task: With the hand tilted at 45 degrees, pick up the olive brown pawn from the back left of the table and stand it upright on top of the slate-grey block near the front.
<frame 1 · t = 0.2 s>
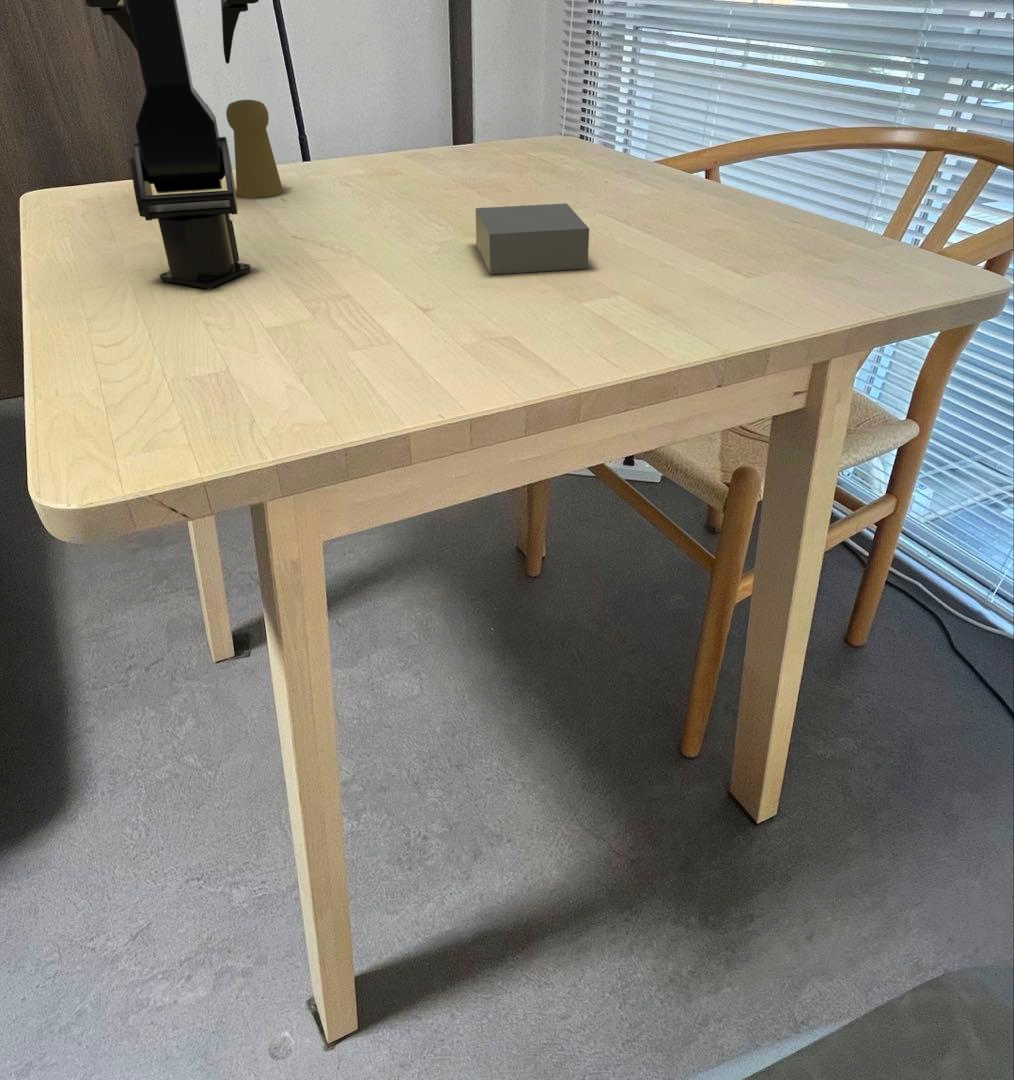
hand: (188, 63, 105), 15 cm above the table, tool tilted 15°, fingers open, 9 cm apart
olive brown pawn: (260, 193, 115), on the table
grey block: (530, 257, 91), on the table
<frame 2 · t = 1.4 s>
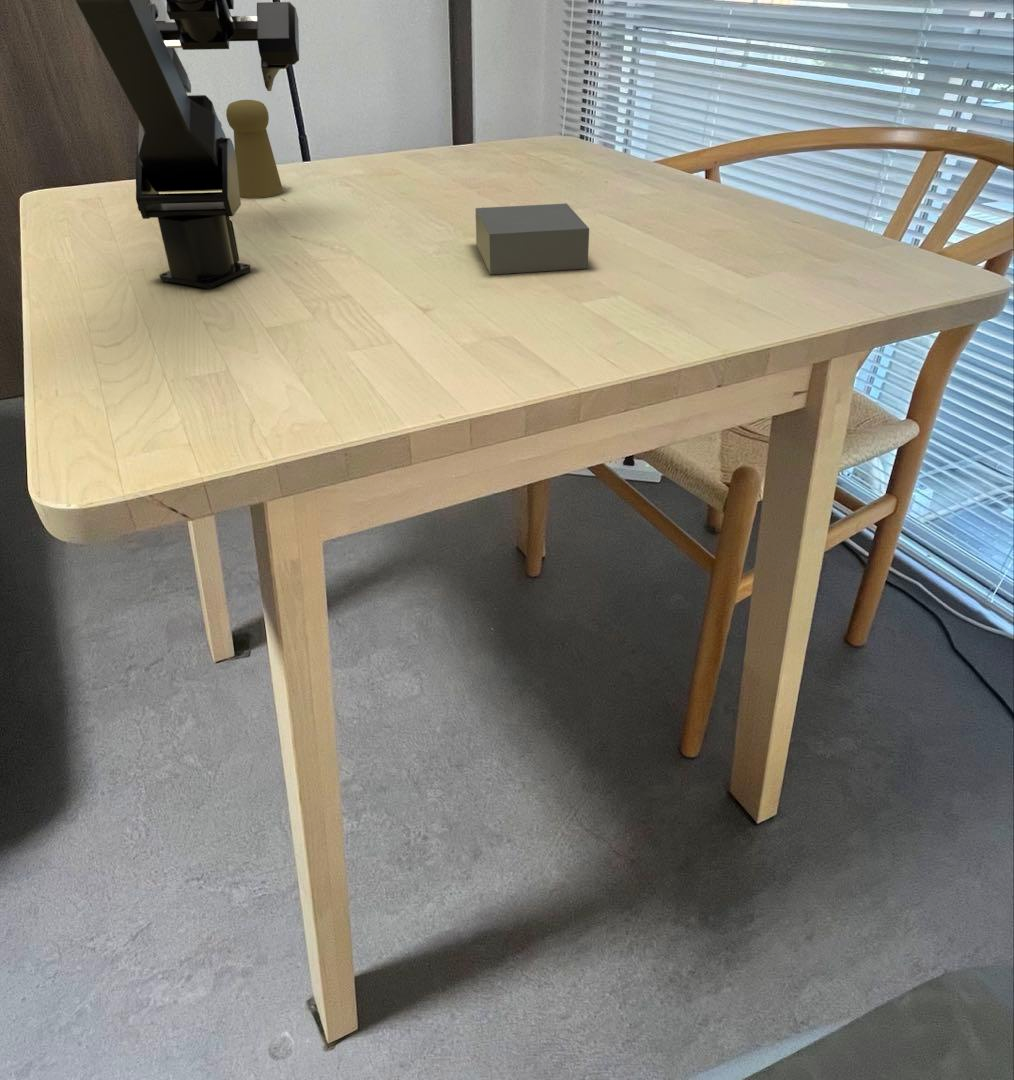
hand: (229, 88, 101), 13 cm above the table, tool tilted 45°, fingers open, 9 cm apart
nothing on the table moved.
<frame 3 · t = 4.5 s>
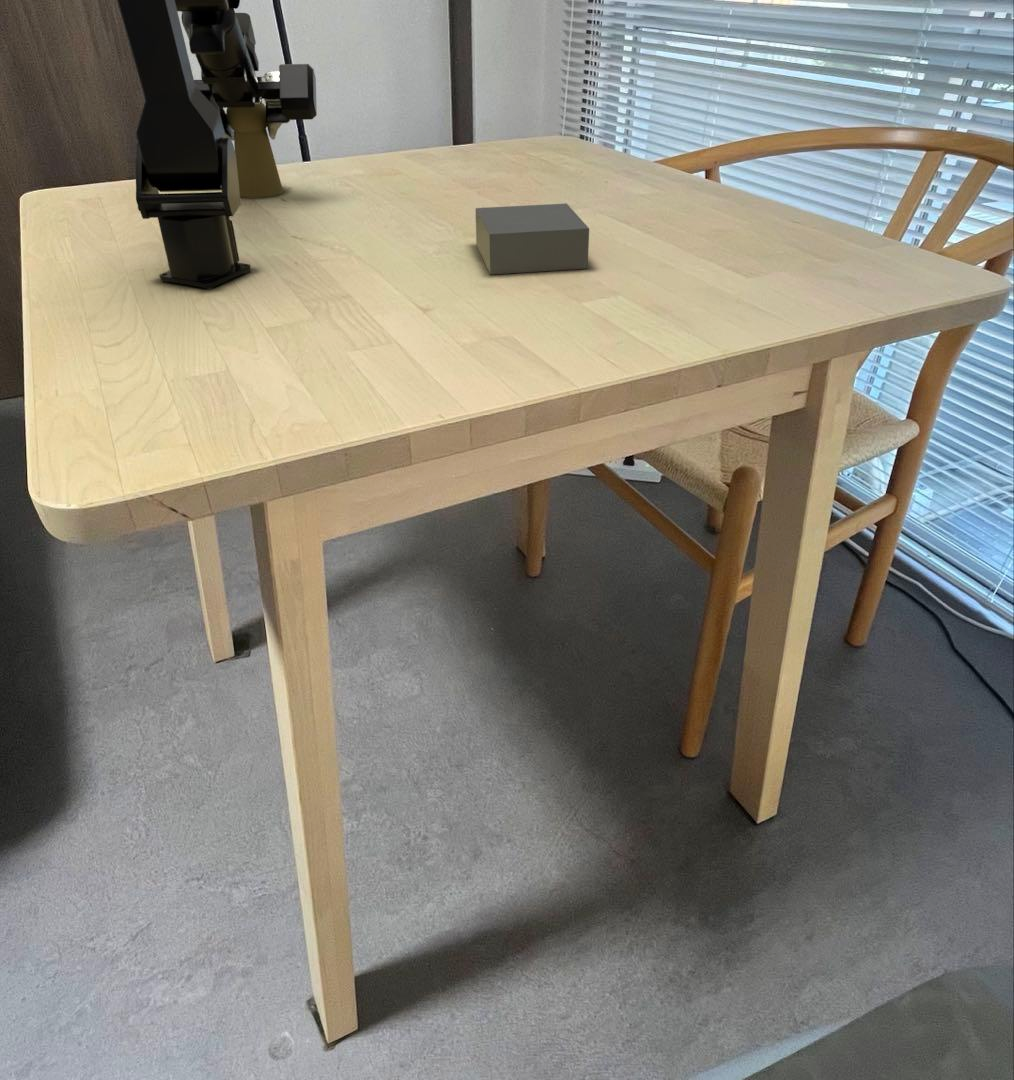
hand: (253, 136, 113), 7 cm above the table, tool tilted 45°, fingers closed on olive brown pawn, 5 cm apart
olive brown pawn: (260, 193, 115), on the table, touching gripper
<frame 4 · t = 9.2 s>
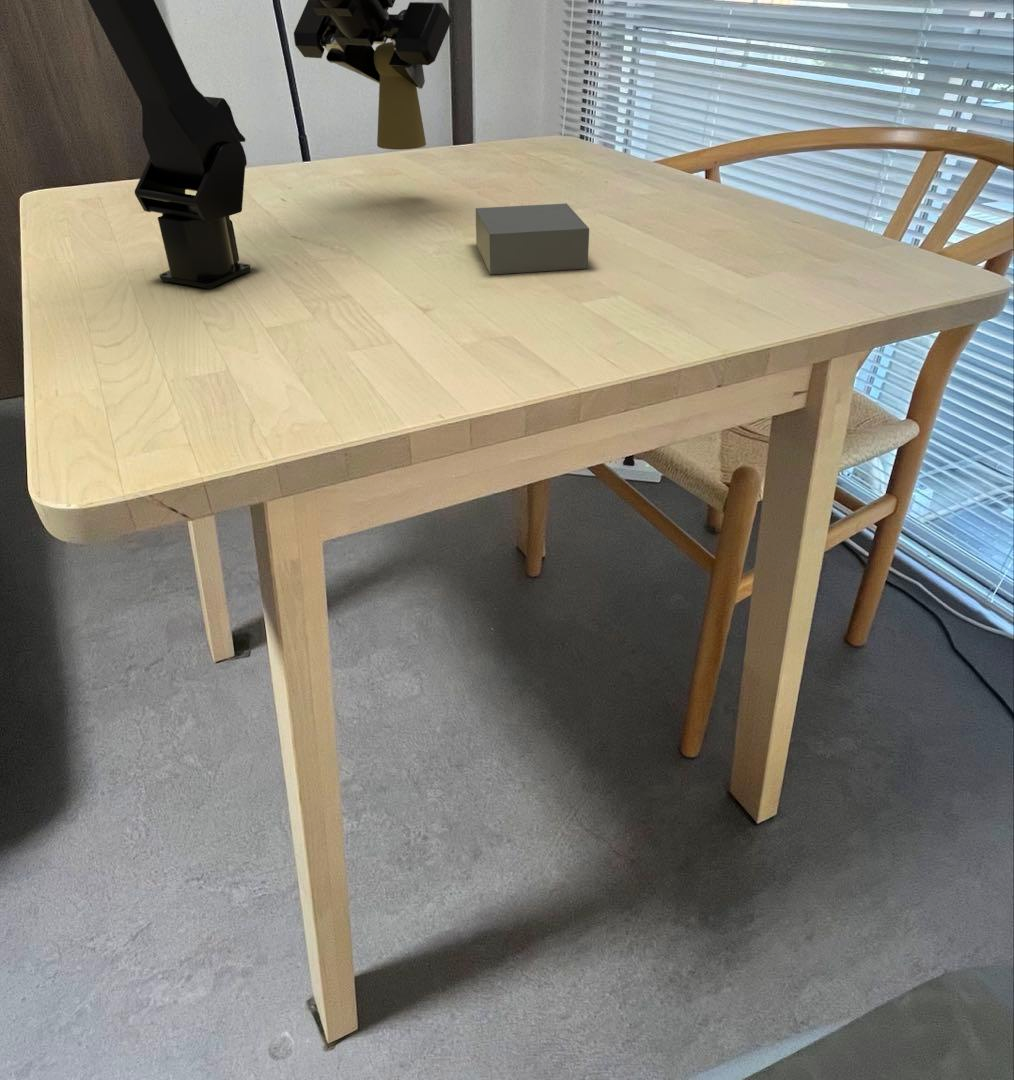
hand: (404, 83, 104), 13 cm above the table, tool tilted 45°, fingers closed on olive brown pawn, 5 cm apart
olive brown pawn: (401, 146, 107), point 6 cm above the table, touching gripper
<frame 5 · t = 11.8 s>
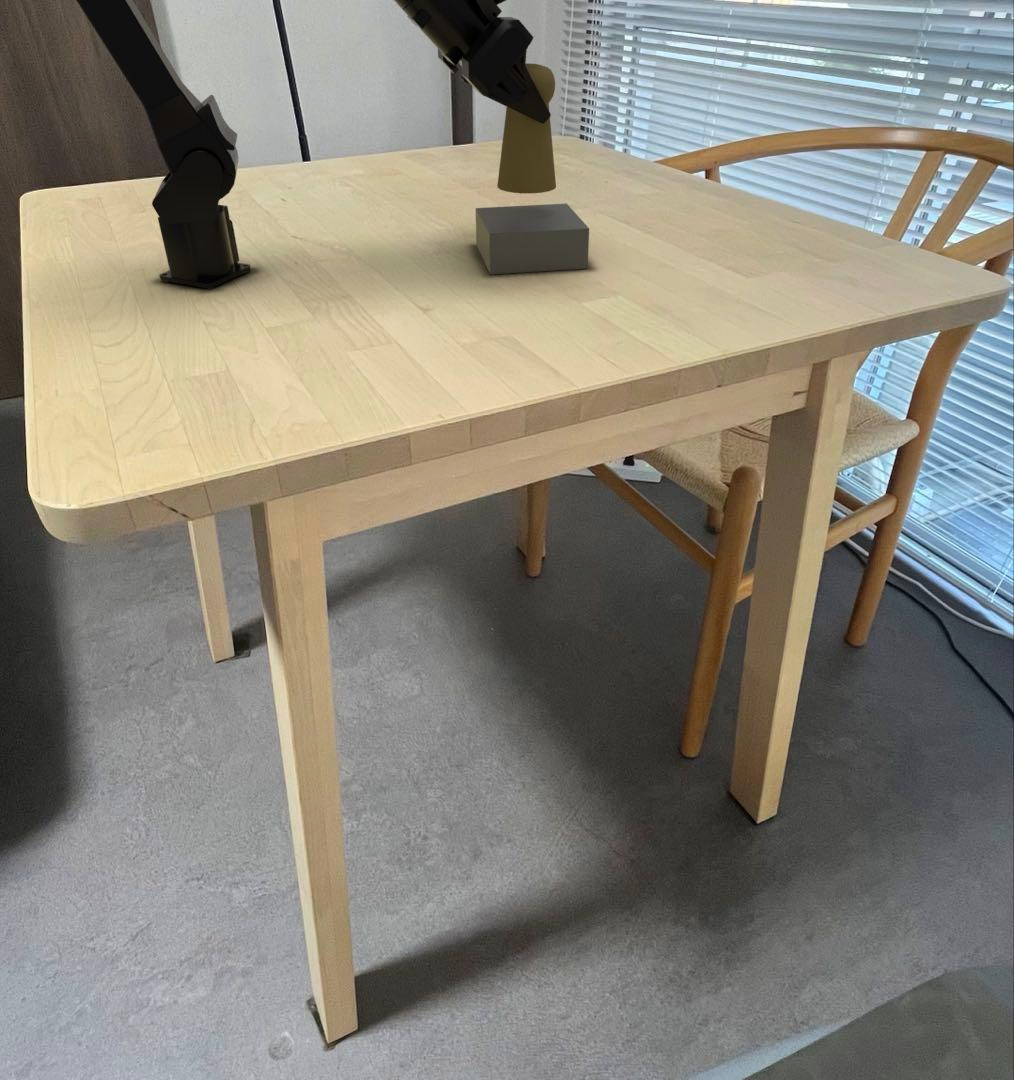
hand: (540, 115, 85), 13 cm above the table, tool tilted 45°, fingers closed on olive brown pawn, 5 cm apart
olive brown pawn: (526, 188, 89), point 6 cm above the table, touching gripper
when the fingers open (11 cm above the table, at t = 13.8 s): olive brown pawn stays where it is, resting on grey block.
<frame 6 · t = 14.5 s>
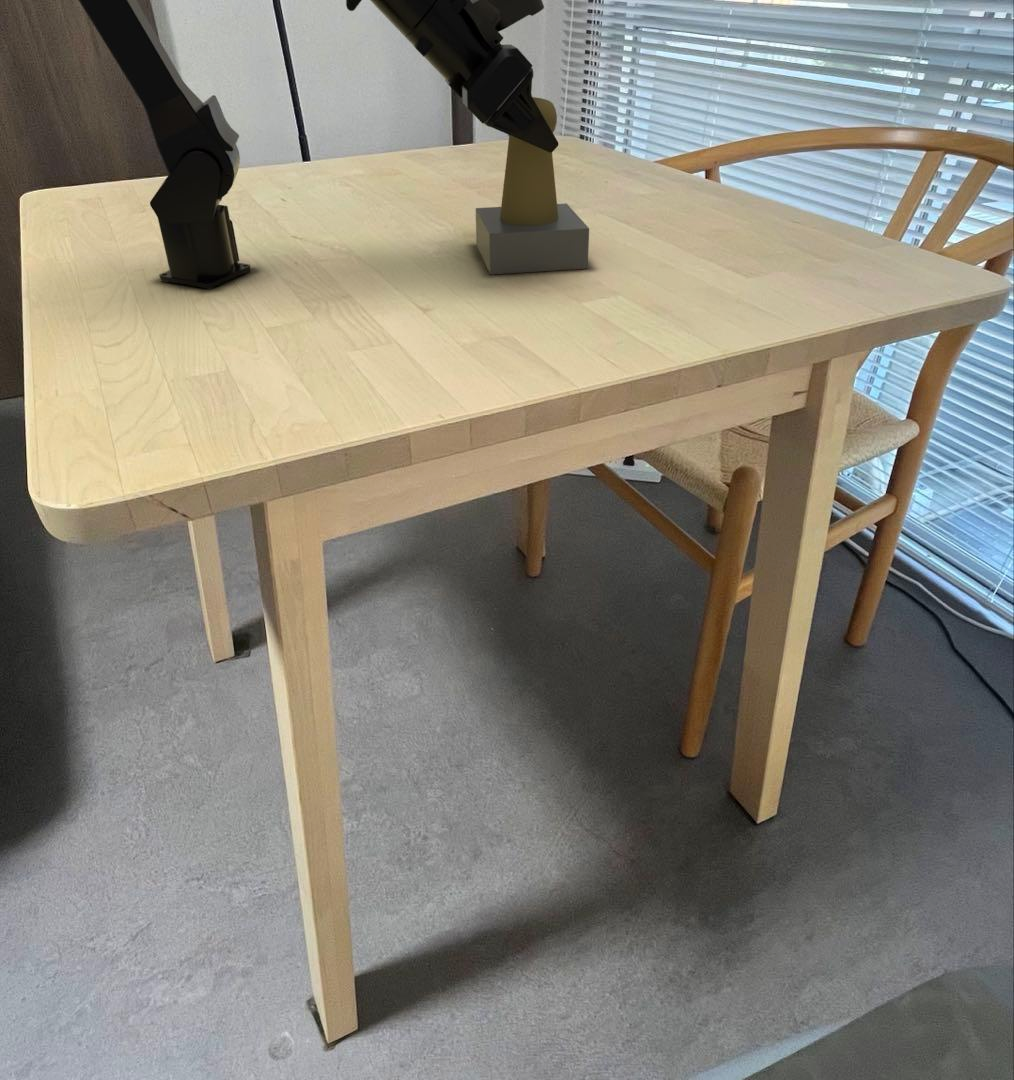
hand: (545, 139, 85), 11 cm above the table, tool tilted 45°, fingers open, 9 cm apart
olive brown pawn: (529, 219, 89), point 4 cm above the table, touching grey block
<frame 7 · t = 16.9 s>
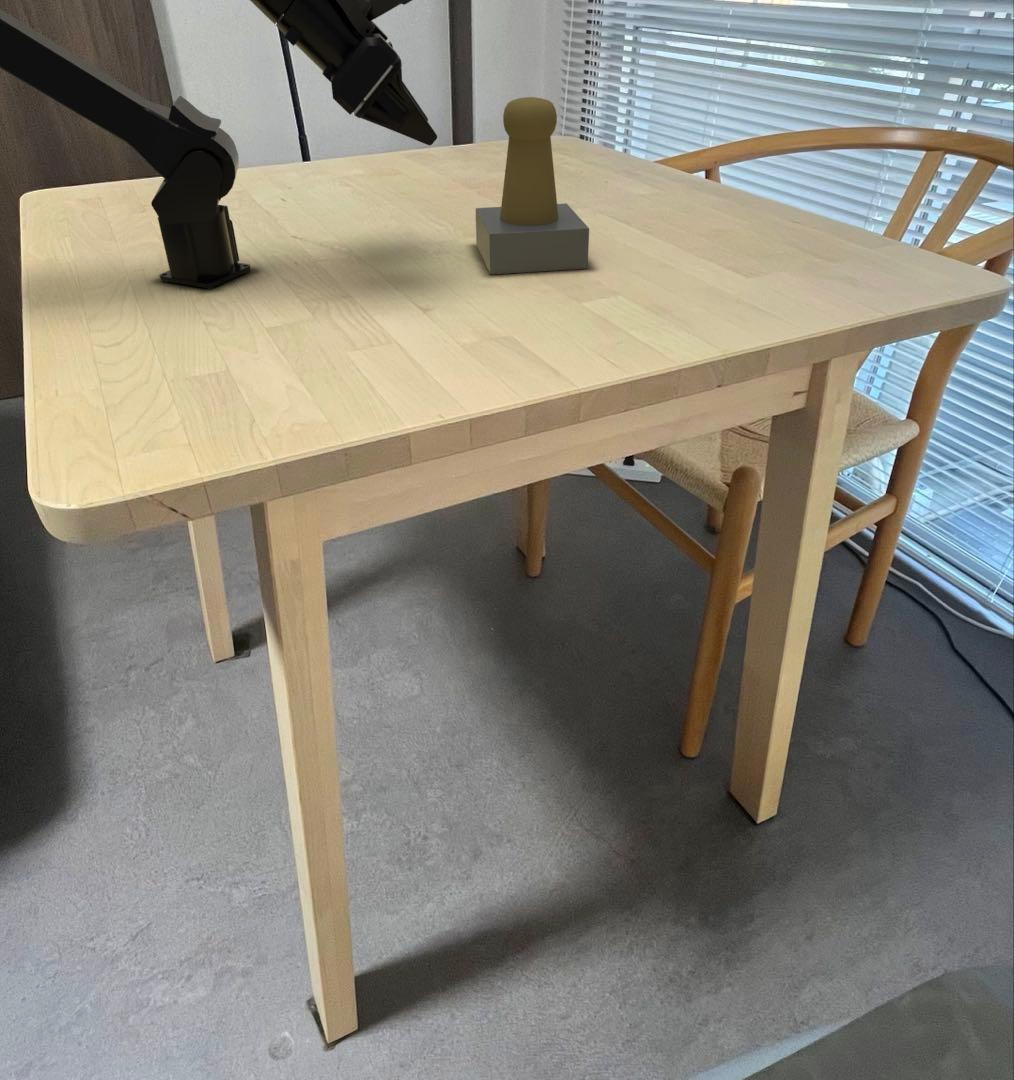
hand: (429, 132, 83), 12 cm above the table, tool tilted 45°, fingers open, 9 cm apart
nothing on the table moved.
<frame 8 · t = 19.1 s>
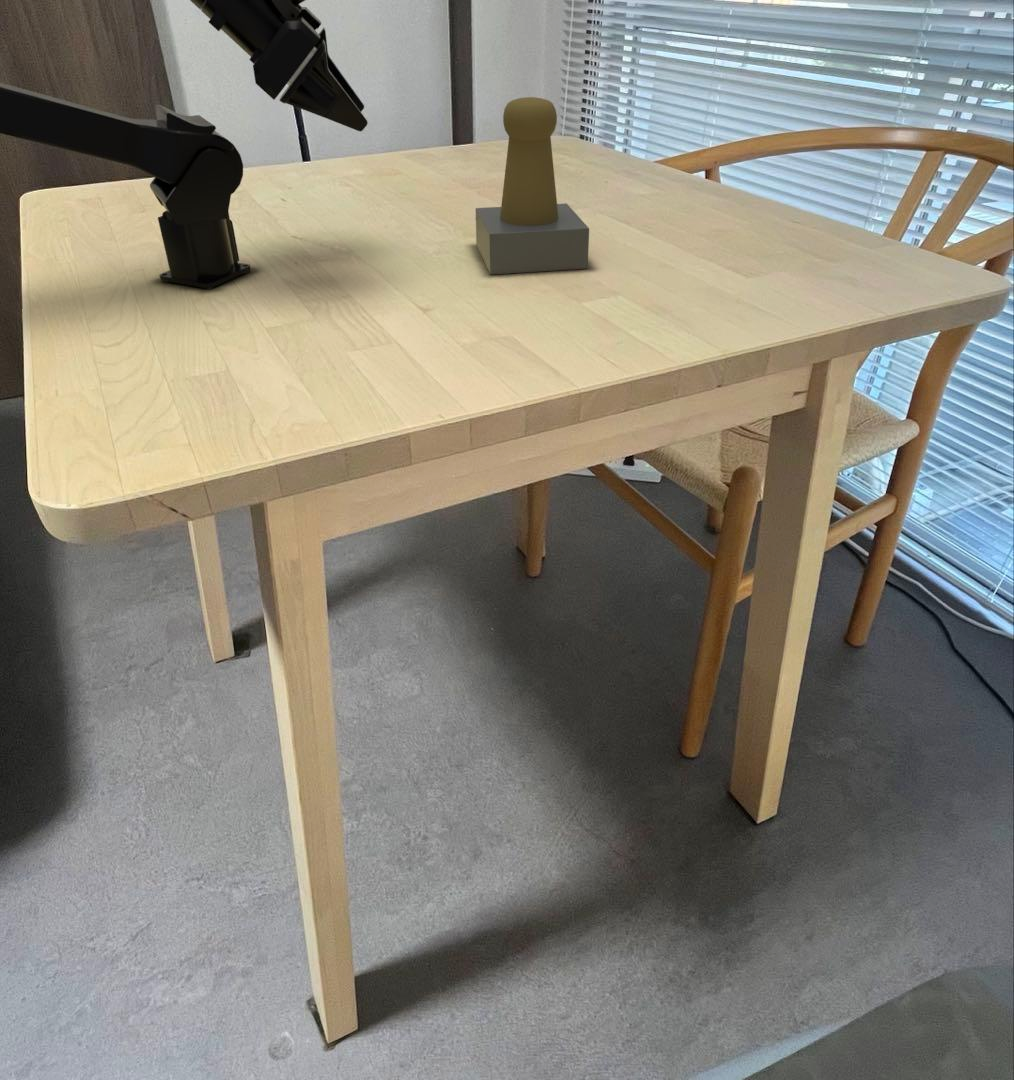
hand: (363, 118, 82), 14 cm above the table, tool tilted 45°, fingers open, 9 cm apart
nothing on the table moved.
at the end: olive brown pawn 0.1 cm off-centre on the grey block, point 3.8 cm above the grey block's base; olive brown pawn tilted 0°; the gripper is holding nothing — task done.
